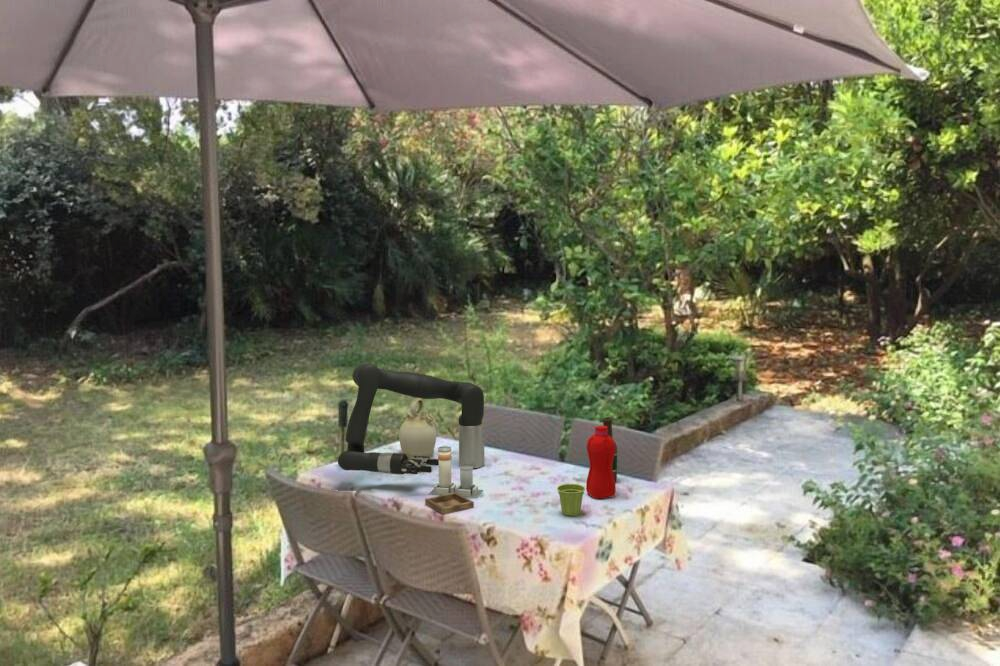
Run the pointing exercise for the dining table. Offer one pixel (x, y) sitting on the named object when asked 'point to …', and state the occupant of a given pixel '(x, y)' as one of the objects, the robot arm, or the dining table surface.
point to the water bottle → (601, 464)
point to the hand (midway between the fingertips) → (435, 465)
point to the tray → (449, 503)
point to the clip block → (457, 489)
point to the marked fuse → (444, 467)
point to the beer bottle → (608, 423)
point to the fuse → (466, 477)
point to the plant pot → (571, 498)
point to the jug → (417, 432)
